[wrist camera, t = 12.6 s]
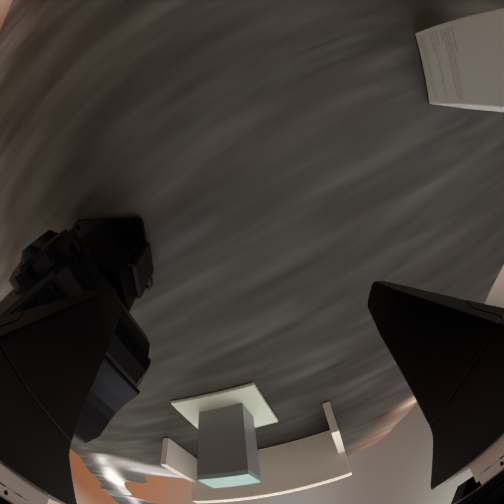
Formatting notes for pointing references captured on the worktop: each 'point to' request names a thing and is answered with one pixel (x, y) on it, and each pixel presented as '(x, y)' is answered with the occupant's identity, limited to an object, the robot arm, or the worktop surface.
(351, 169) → the worktop surface
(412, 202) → the worktop surface
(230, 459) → the grey teal block
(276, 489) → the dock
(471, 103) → the supplement box
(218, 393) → the mat
